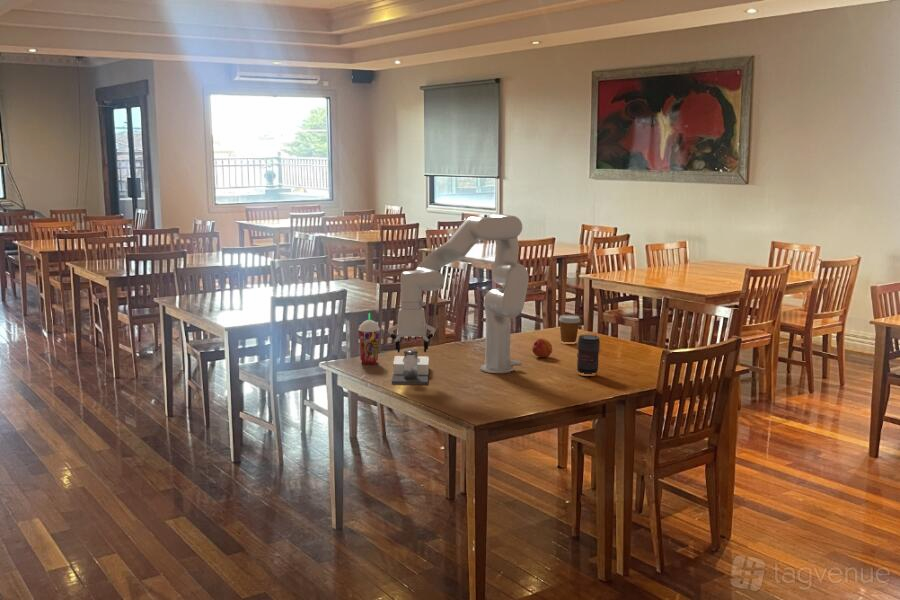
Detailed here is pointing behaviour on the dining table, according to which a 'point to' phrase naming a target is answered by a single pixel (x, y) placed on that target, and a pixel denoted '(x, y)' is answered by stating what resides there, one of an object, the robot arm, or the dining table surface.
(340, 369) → the dining table surface
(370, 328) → the smoothie
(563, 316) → the disposable coffee cup
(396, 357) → the socket block
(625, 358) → the dining table surface
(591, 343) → the camera lens
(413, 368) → the steel plug
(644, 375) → the dining table surface
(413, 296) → the robot arm
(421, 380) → the rubber pad
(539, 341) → the fruit
